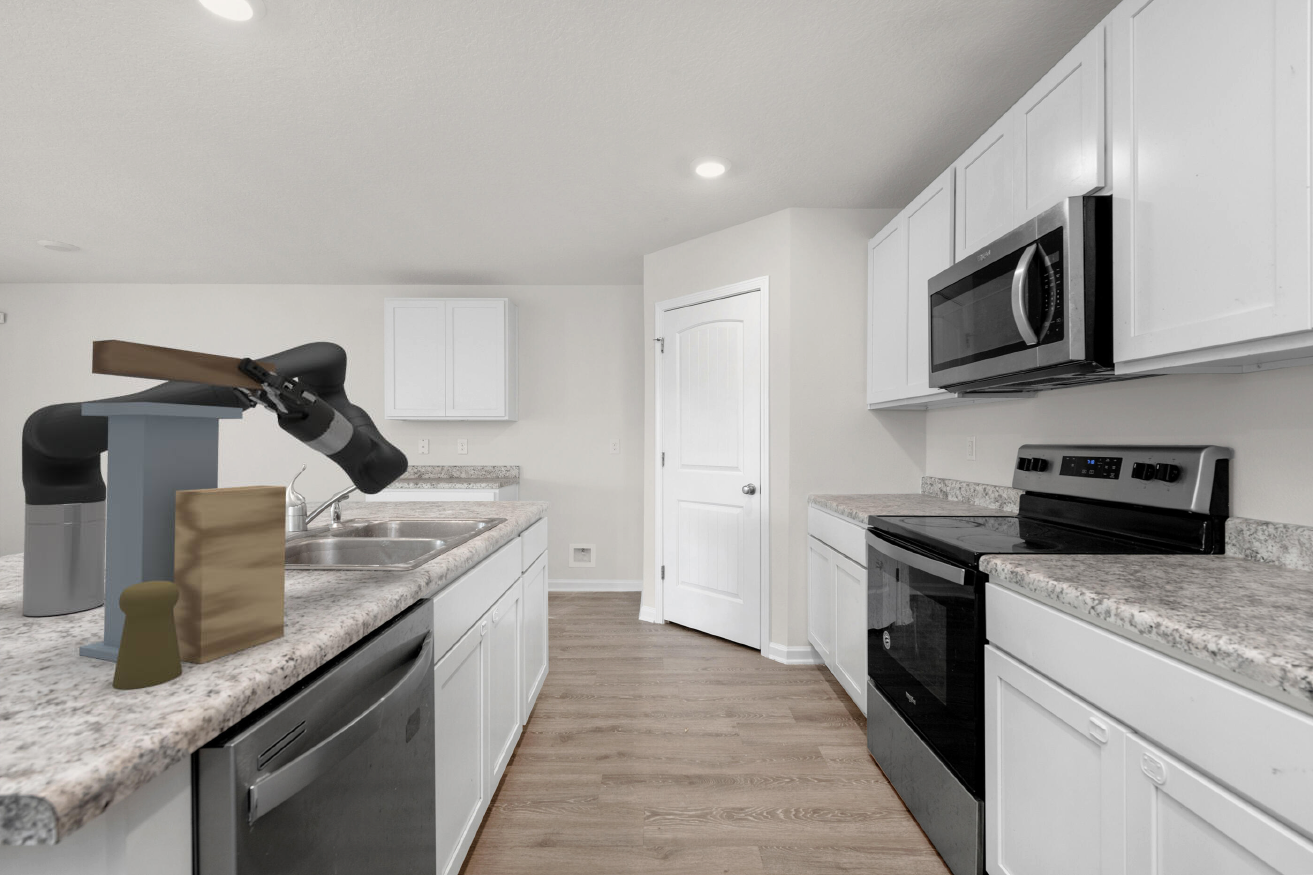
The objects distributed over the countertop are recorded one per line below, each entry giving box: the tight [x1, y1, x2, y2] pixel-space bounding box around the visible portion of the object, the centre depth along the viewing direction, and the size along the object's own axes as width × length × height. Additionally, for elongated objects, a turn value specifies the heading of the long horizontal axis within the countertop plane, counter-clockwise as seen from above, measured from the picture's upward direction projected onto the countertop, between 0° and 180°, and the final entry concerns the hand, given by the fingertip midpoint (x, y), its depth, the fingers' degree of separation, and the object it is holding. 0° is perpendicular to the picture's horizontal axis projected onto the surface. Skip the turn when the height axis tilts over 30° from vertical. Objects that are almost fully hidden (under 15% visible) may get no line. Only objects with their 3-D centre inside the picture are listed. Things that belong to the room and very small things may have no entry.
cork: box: [112, 581, 183, 691], centre depth 67 cm, size 6×6×11 cm
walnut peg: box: [91, 339, 275, 390], centre depth 81 cm, size 4×21×4 cm, turn 161°
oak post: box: [174, 485, 287, 665], centre depth 77 cm, size 5×11×21 cm, turn 162°
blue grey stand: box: [78, 402, 244, 663], centre depth 78 cm, size 12×12×32 cm
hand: (231, 363), depth 86 cm, fingers closed on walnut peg, 4 cm apart
